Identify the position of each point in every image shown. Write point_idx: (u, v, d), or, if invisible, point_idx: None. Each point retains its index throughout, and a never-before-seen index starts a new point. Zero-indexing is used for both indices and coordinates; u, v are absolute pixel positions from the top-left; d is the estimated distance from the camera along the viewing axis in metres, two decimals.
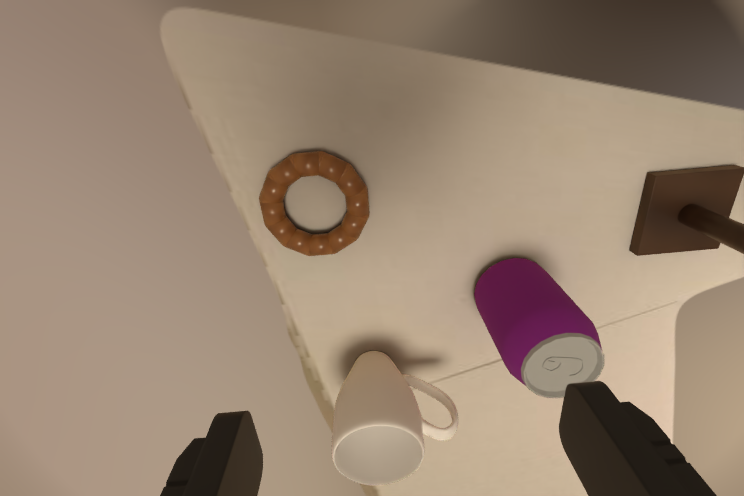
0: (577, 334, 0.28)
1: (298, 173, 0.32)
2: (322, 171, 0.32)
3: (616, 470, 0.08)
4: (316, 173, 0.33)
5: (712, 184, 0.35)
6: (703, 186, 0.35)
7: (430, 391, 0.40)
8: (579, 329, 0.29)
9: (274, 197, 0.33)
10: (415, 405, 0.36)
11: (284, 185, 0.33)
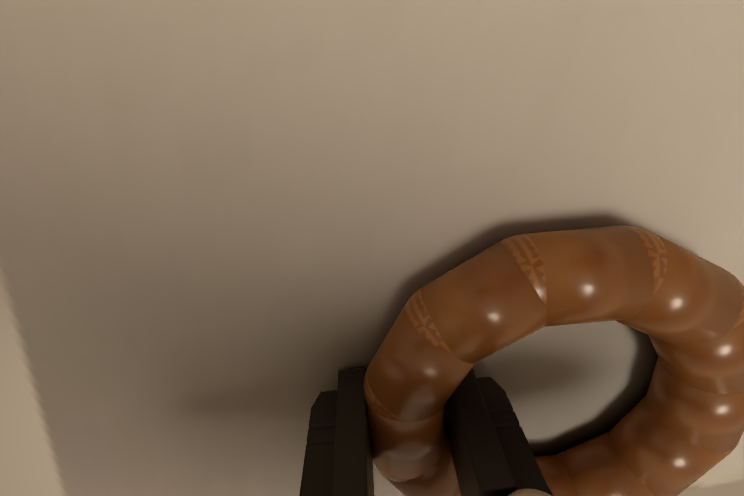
0: None
1: (430, 467, 0.10)
2: (429, 410, 0.09)
3: (458, 433, 0.09)
4: (435, 419, 0.09)
5: None
6: None
7: None
8: None
9: None
10: None
11: None
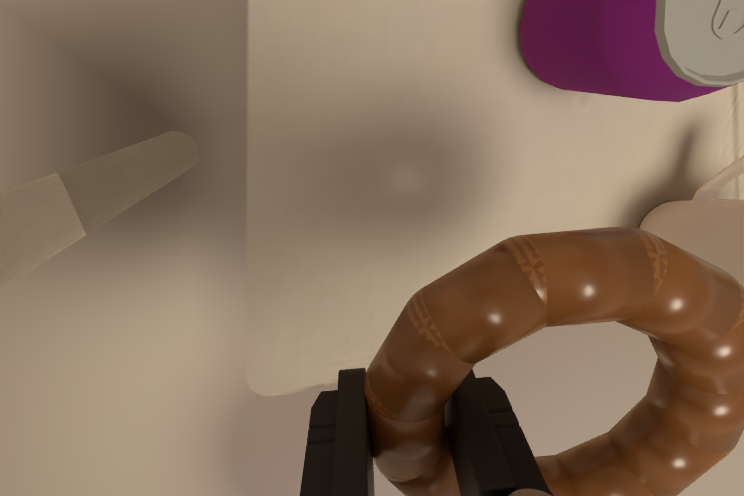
0: None
1: (430, 467, 0.10)
2: (430, 411, 0.09)
3: (458, 433, 0.09)
4: (436, 420, 0.09)
5: None
6: None
7: (740, 169, 0.24)
8: None
9: None
10: None
11: None
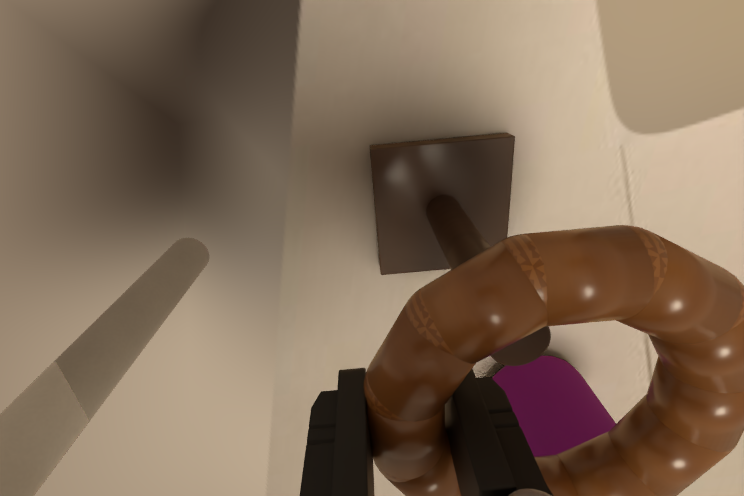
0: None
1: (431, 467, 0.10)
2: (430, 411, 0.09)
3: (458, 433, 0.09)
4: (436, 420, 0.09)
5: (396, 192, 0.22)
6: (398, 205, 0.23)
7: None
8: None
9: None
10: None
11: None
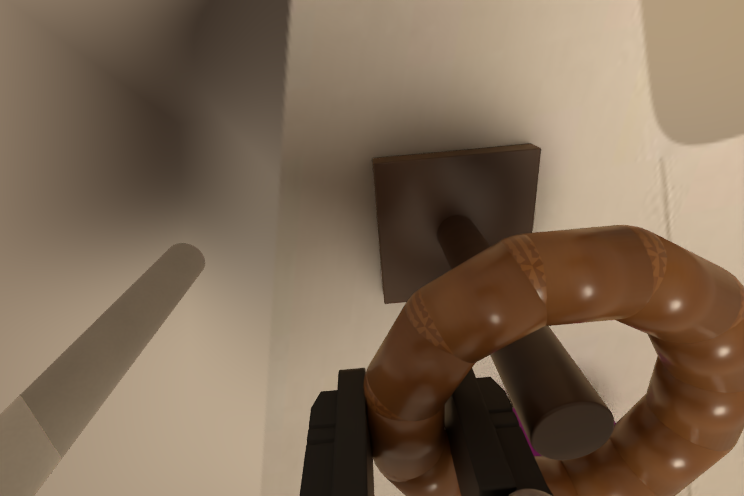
0: None
1: (430, 466, 0.10)
2: (429, 410, 0.09)
3: (458, 433, 0.09)
4: (436, 419, 0.09)
5: (402, 212, 0.19)
6: (405, 226, 0.20)
7: None
8: None
9: None
10: None
11: None
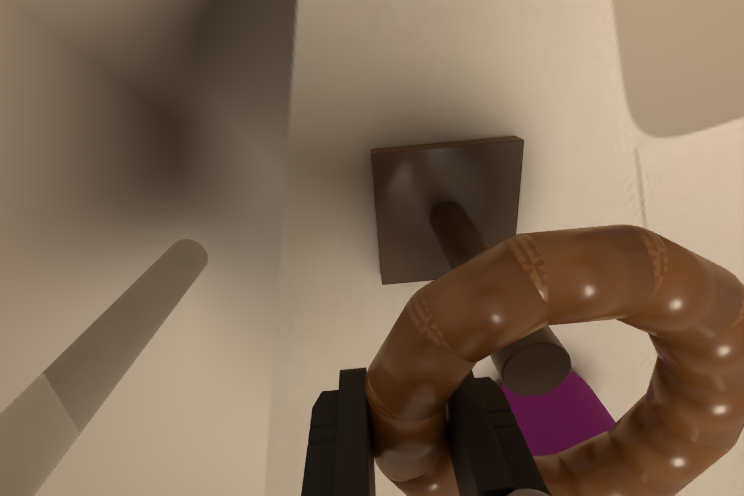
0: None
1: (432, 466, 0.10)
2: (431, 410, 0.09)
3: (457, 433, 0.09)
4: (437, 419, 0.09)
5: (398, 199, 0.21)
6: (401, 212, 0.22)
7: None
8: None
9: None
10: None
11: None
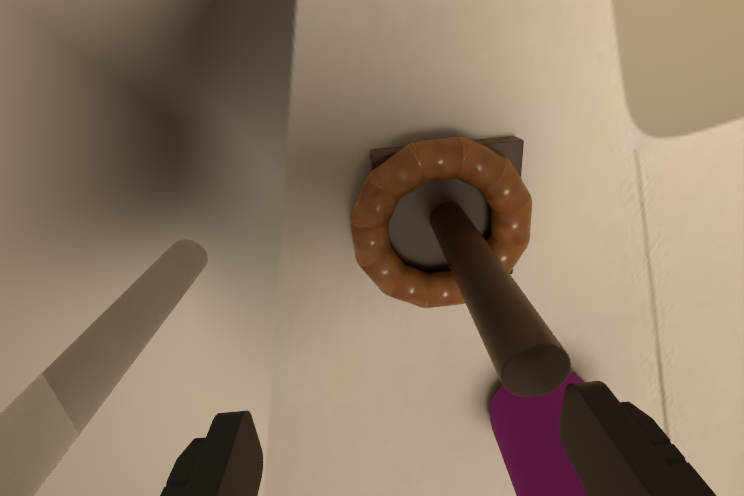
0: None
1: (382, 256, 0.21)
2: (378, 222, 0.20)
3: (616, 470, 0.08)
4: (383, 230, 0.20)
5: None
6: (400, 212, 0.22)
7: None
8: None
9: (420, 291, 0.22)
10: None
11: (402, 276, 0.21)
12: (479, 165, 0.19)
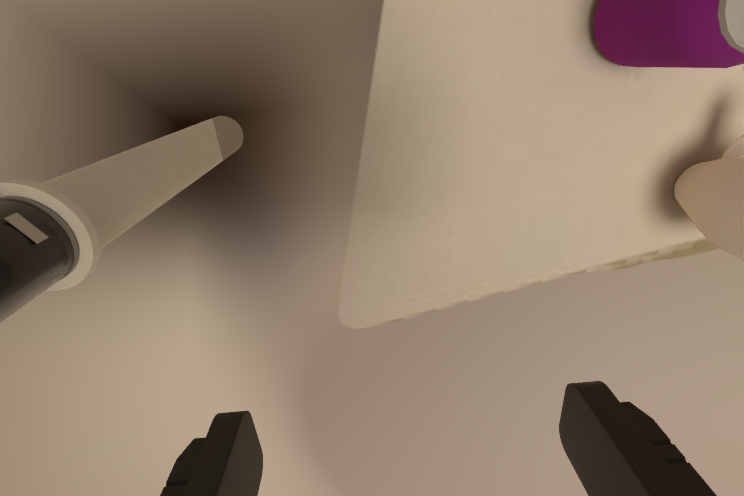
0: None
1: None
2: None
3: (616, 470, 0.08)
4: None
5: None
6: None
7: None
8: None
9: None
10: None
11: None
12: None
